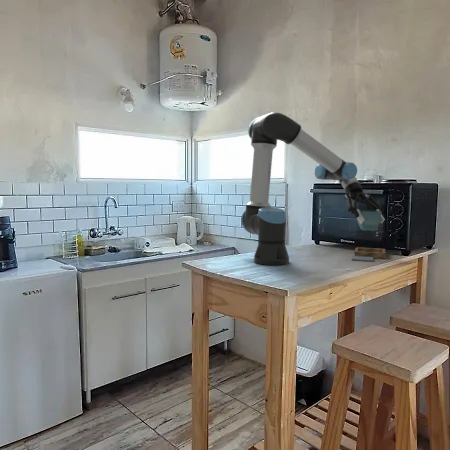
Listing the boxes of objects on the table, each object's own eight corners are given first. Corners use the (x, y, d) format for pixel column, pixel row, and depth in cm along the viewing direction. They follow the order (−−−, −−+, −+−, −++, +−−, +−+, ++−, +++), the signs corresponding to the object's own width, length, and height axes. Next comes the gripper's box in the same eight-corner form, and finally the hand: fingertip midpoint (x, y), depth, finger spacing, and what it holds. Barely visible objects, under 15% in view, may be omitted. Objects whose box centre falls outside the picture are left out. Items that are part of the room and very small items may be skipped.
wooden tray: (354, 256, 189) (354, 251, 188) (355, 252, 201) (355, 247, 201) (385, 258, 184) (385, 253, 184) (384, 253, 197) (385, 248, 196)
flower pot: (381, 231, 183) (382, 211, 182) (361, 231, 183) (362, 211, 182) (374, 229, 192) (375, 210, 191) (355, 229, 192) (356, 210, 191)
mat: (351, 260, 180) (351, 259, 180) (352, 256, 189) (352, 255, 189) (373, 261, 177) (373, 260, 177) (373, 258, 186) (373, 256, 186)
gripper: (367, 192, 204) (388, 226, 191) (328, 192, 196) (347, 227, 183) (375, 181, 198) (397, 216, 185) (335, 180, 190) (356, 216, 177)
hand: (372, 221), depth 184 cm, fingers closed on flower pot, 11 cm apart
